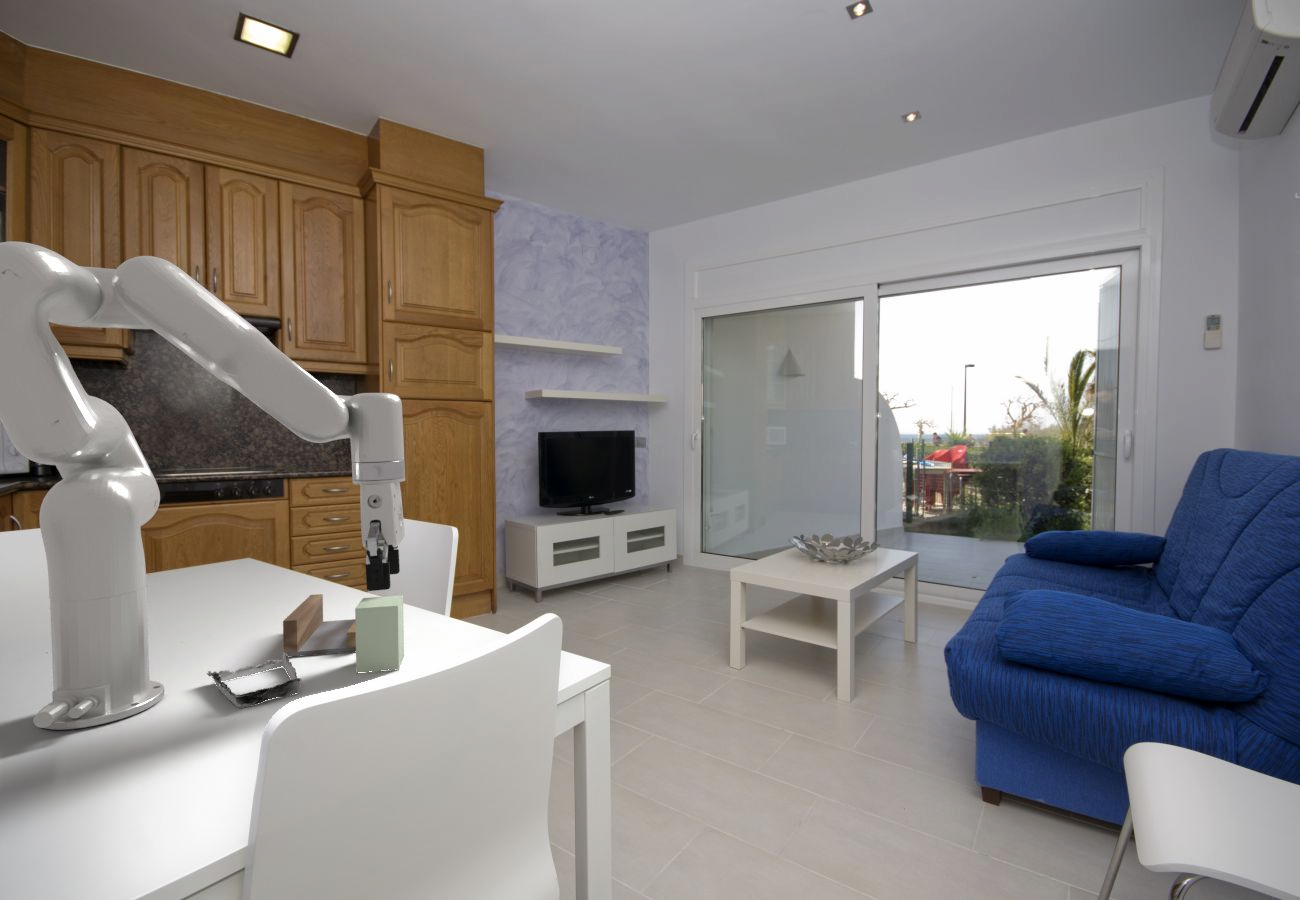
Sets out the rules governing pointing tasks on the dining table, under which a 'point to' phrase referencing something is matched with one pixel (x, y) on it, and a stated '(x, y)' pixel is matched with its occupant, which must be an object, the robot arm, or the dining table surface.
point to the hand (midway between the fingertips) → (384, 581)
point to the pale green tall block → (379, 633)
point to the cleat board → (316, 631)
